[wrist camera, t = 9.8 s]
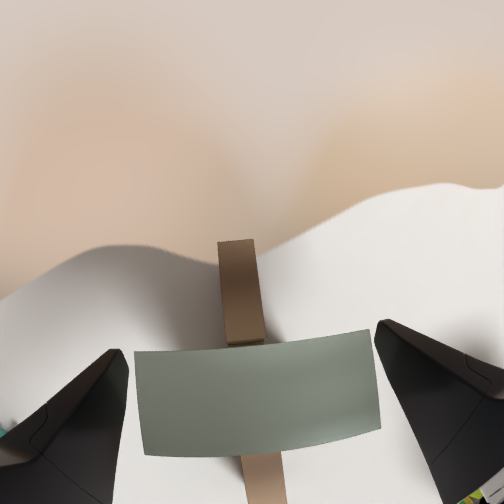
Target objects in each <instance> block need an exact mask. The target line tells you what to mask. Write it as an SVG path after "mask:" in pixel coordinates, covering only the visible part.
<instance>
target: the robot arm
mask: <svg viewBox="0 0 504 504" xmlns="http://www.w3.org/2000/svg"><path fill="white" fill-rule="evenodd" d="M374 343H375V347H376V349H377V352H378V354H379V357H380V360H381V362H382V365H383V368H384V370H385V373H386V376H387V378H388V380H389V382H390V384H391V386H392V388H393V390H394V392H395V394H396V396H397V398H398V400H399V402H400V405H401V407H402V409H403V411H404V413H405V415H406V417H407V419H408V421H409V424H410V426H411V428H412V430H413V432H414V434H415V437H416V439H417V441H418V443H419V446H420V448H421V450H422V452H423V455H424V457H425V459H426V462H427V464H428V466H429V469H430V472H431V474H432V477H433V479H434V481H435V484H436V486H437V489H438V492H439V494H440V497H441V499H442V502H443V504H458V503H460V502H461V501H463V500H464V499H466V498H467V497H469V496H470V495H471V494H473V493H474V492H476V491H477V490H478V489H480V490H481V492H482V494H483V497H481V498H480V499H479V500H477V501H476V502H475V503H473V504H504V369H502V368H499V367H496V366H493V365H491V364H488V363H485V362H483V361H480V360H478V359H476V358H473V357H471V356H469V355H467V354H464V353H462V352H460V351H458V350H456V349H454V348H451V347H449V346H447V345H445V344H443V343H441V342H438V341H436V340H434V339H432V338H430V337H428V336H425V335H423V334H421V333H419V332H417V331H415V330H412V329H410V328H408V327H406V326H404V325H402V324H399V323H397V322H395V321H393V320H391V319H385V320H380V321H379V322H378V324H377V328H376V333H375V337H374ZM128 377H129V368H128V364H127V362H126V360H125V357H124V355H123V353H122V351H121V350H120V349H109V350H108V351H106V352H105V353H104V354H103V355H102V356H100V357H99V358H98V359H97V360H96V361H94V362H93V363H92V364H91V365H90V366H88V367H87V368H86V369H85V370H84V371H83V372H81V373H80V374H79V375H78V376H77V377H75V378H74V379H73V380H72V381H71V382H70V383H68V384H67V385H66V386H65V387H64V388H62V389H61V390H60V391H59V392H58V393H57V394H55V395H54V396H53V397H52V398H51V399H50V400H48V401H47V404H46V403H45V404H44V405H43V406H41V407H40V408H39V409H38V410H37V411H35V412H34V413H33V414H32V415H31V416H29V417H28V418H27V419H25V420H24V421H23V422H21V423H20V424H19V425H17V426H16V427H14V428H13V429H11V430H10V431H9V432H7V433H6V434H4V435H3V436H2V437H0V504H112V501H113V490H114V481H115V473H116V465H117V458H118V451H119V445H120V438H121V432H122V427H123V421H124V416H125V410H126V400H127V388H128Z"/></svg>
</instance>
